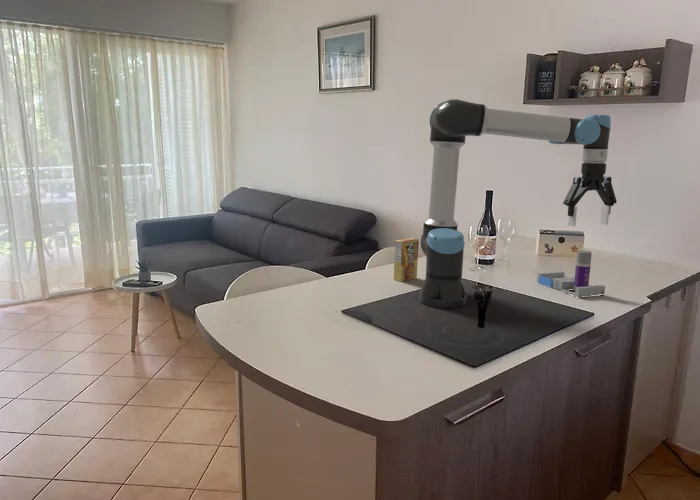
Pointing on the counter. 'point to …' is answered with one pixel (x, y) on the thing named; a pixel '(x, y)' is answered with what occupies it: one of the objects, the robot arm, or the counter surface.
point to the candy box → (406, 259)
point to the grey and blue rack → (568, 284)
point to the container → (582, 269)
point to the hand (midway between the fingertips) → (587, 225)
